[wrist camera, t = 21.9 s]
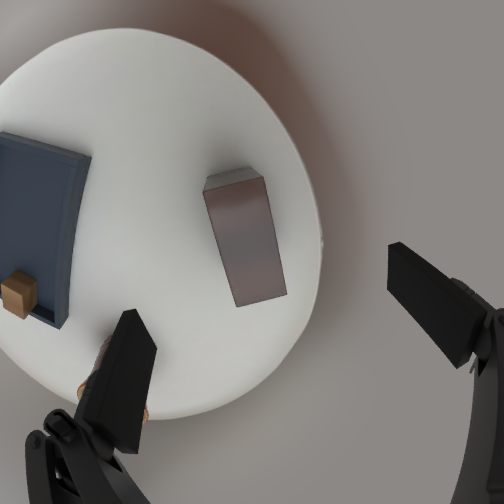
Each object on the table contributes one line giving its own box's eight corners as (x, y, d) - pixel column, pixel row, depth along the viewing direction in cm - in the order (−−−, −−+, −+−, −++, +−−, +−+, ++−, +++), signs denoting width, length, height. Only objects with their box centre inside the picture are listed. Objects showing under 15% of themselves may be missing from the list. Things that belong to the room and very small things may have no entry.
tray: (2, 131, 19) (-13, 133, 17) (91, 157, 23) (78, 160, 21) (-8, 277, 26) (-18, 286, 23) (68, 317, 30) (59, 330, 27)
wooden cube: (16, 269, 25) (0, 283, 22) (37, 279, 26) (21, 295, 23) (17, 292, 27) (3, 308, 23) (37, 303, 28) (24, 320, 24)
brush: (206, 177, 26) (202, 191, 19) (250, 166, 26) (263, 176, 19) (231, 266, 30) (236, 308, 23) (270, 256, 30) (287, 295, 23)
